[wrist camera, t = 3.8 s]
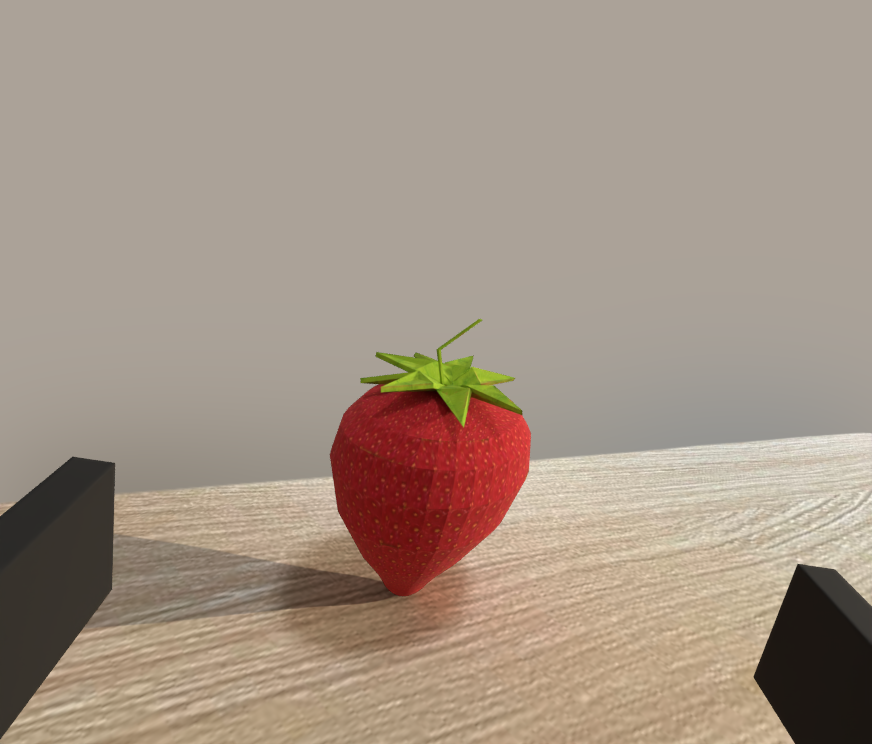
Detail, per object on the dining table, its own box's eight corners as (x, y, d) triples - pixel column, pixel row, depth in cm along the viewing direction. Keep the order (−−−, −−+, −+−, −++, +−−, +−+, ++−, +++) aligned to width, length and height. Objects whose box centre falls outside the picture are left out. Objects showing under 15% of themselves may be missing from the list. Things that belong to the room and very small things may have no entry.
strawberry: (527, 580, 25) (593, 323, 21) (422, 702, 18) (495, 361, 15) (397, 517, 27) (439, 280, 24) (265, 605, 21) (300, 297, 18)
